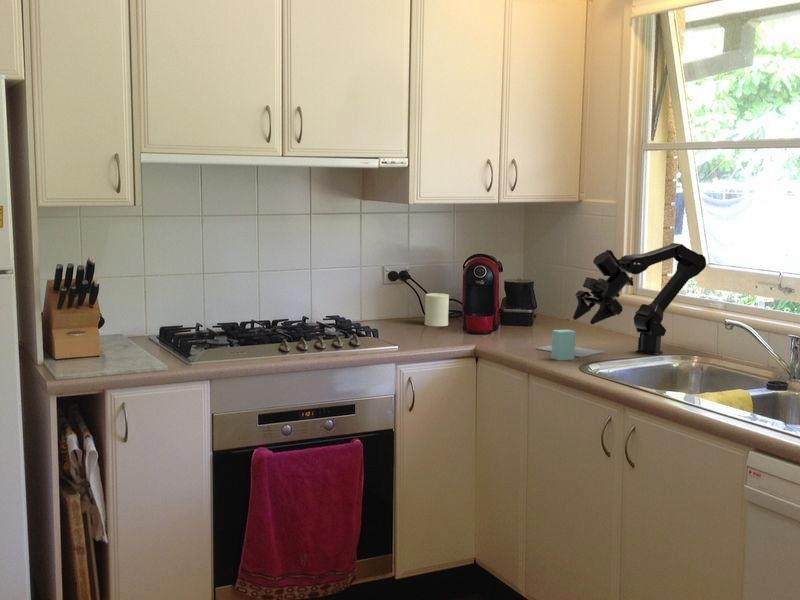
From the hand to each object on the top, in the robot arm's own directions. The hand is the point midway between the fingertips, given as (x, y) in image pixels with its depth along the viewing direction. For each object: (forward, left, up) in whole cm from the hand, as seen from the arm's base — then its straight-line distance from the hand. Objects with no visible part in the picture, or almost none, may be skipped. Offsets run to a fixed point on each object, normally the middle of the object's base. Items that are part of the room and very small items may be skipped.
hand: (582, 321), depth 290 cm
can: (+72, -9, -12) cm, 74 cm away
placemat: (+8, -6, -12) cm, 16 cm away
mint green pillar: (+2, +6, -12) cm, 14 cm away
